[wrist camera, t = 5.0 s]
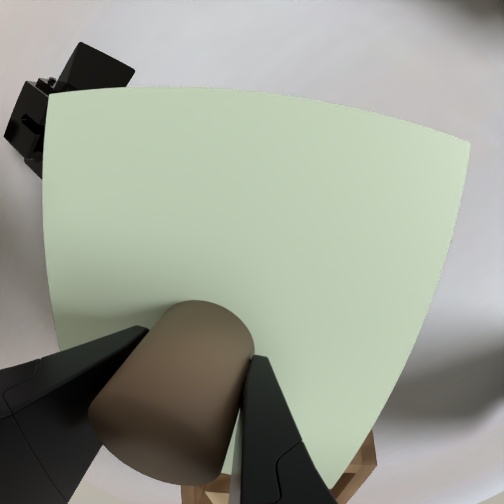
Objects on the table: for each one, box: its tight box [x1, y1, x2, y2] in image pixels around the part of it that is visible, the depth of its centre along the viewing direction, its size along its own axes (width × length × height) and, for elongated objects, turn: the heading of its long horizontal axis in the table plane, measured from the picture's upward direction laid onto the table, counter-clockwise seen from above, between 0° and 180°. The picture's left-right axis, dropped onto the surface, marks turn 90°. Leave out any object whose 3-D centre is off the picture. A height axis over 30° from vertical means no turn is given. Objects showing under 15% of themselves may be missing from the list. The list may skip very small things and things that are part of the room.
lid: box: [42, 87, 471, 489], centre depth 8 cm, size 12×14×5 cm
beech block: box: [204, 473, 231, 504], centre depth 21 cm, size 3×3×3 cm
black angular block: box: [4, 42, 135, 179], centre depth 15 cm, size 12×7×5 cm, turn 144°
